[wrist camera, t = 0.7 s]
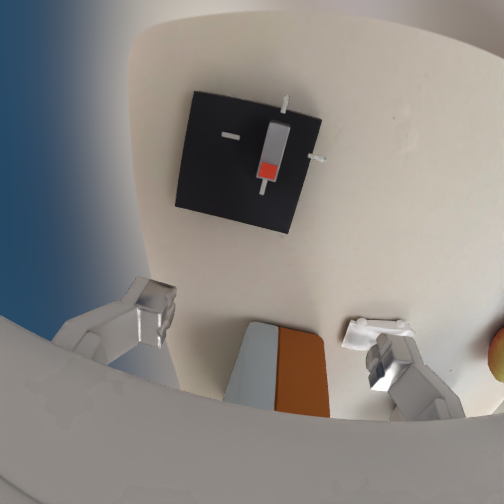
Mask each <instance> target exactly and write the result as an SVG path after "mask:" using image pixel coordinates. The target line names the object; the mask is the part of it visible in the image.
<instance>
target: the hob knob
mask: <svg viewBox="0 0 504 504" xmlns="http://www.w3.org/2000/svg"><path fill="white" fill-rule="evenodd" d="M289 131H290V125H289V124H288V123H284V122H281V121H277V120H273V119H272V120H271V121H270V123H269V127H268V131H267V135H266V139H265V143H264V147H263V151H262V155H261V159H260V163H259V167H258V171H257V175H256V177H257V178H261V179H265V180H269V181H273V182H276V179H277V175H278V172H279V168H280V164H281V160H282V157H283V153H284V149H285V146H286V142H287V138H288V134H289Z"/></svg>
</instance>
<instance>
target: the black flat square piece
mask: <svg viewBox="0 0 504 504" xmlns="http://www.w3.org/2000/svg"><path fill="white" fill-rule="evenodd" d="M289 97H290V96H287V95H285V96H284V100H283V104H282V108H280V107H276V106H272V105H268V104H264V103H260V102H255V101H250V100H246V99H241V98H236V97H231V96H226V95H220V94H214V93H208V92H202V91H194V95H193V99H192V104H191V109H190V115H189V120H188V125H187V131H186V136H185V142H184V148H183V154H182V160H181V167H180V173H179V180H178V187H177V194H176V202H175V206H176V207H180V208H184V209H188V210H193V211H197V212H201V213H205V214H209V215H214V216H218V217H222V218H226V219H230V220H234V221H238V222H242V223H246V224H250V225H254V226H258V227H262V228H266V229H270V230H274V231H278V232H282V233H286V234H288V232H289V229H290V225H291V222H292V219H293V216H294V213H295V209H296V206H297V203H298V200H299V196H300V193H301V190H302V187H303V183H304V180H305V177H306V173H307V170H308V167H309V163H310V160H311V159H314V160H318V161H321V162H325V160H326V158H324V157H321V156H318V155H314V154H312V153H313V150H314V146H315V143H316V139H317V136H318V133H319V129H320V126H321V122H322V120H321V119H319V118H317V117H313V116H310V115H306V114H303V113H299V112H296V111H292V110H288V109H286V108H287V104H288V100H289ZM272 119H273V120H277V121H281V122H284V123H288V124H289V125H290V131H289V134H288V138H287V142H286V146H285V149H284V153H283V157H282V160H281V164H280V168H279V172H278V175H277V179H276V182H273V181H269V180H265V179H261V178H257V177H256V175H257V171H258V167H259V163H260V159H261V155H262V151H263V147H264V143H265V139H266V135H267V131H268V127H269V123H270V121H271V120H272Z"/></svg>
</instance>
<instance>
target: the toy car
mask: <svg viewBox="0 0 504 504" xmlns="http://www.w3.org/2000/svg"><path fill="white" fill-rule="evenodd" d="M381 333H387V334H394V335H400V336H409V337H412V338H413V336H414V334H415V332H414V331H413V329H412V328H411V325H410V324H409V323H404V322H403V321H402V320H397V321H396V322H395V321H380V320H366V319H364V318H359V319H357V321H353V320H351V321H350V324H349V327H348V329H347V332H346V335H345V338H344V340H343V343H342V346H341V347H345V348H349V349H352V350H364V351H369V349H370V348H371V347H372V346H373V345H375V344H377V342H376V339H377V337H378V336H379V335H380V334H381Z"/></svg>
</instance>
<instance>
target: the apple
mask: <svg viewBox="0 0 504 504" xmlns="http://www.w3.org/2000/svg"><path fill="white" fill-rule="evenodd" d="M488 366H489V369H490V371H491V372H492V374H493V376H494V377H495V379H496V380H498V381H500V382H504V327H503V328H502V329H501V330H499V331H498V333H497V334H496V335H495V337H494V338H493V340H492V342H491V344H490V347H489V350H488Z"/></svg>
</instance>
